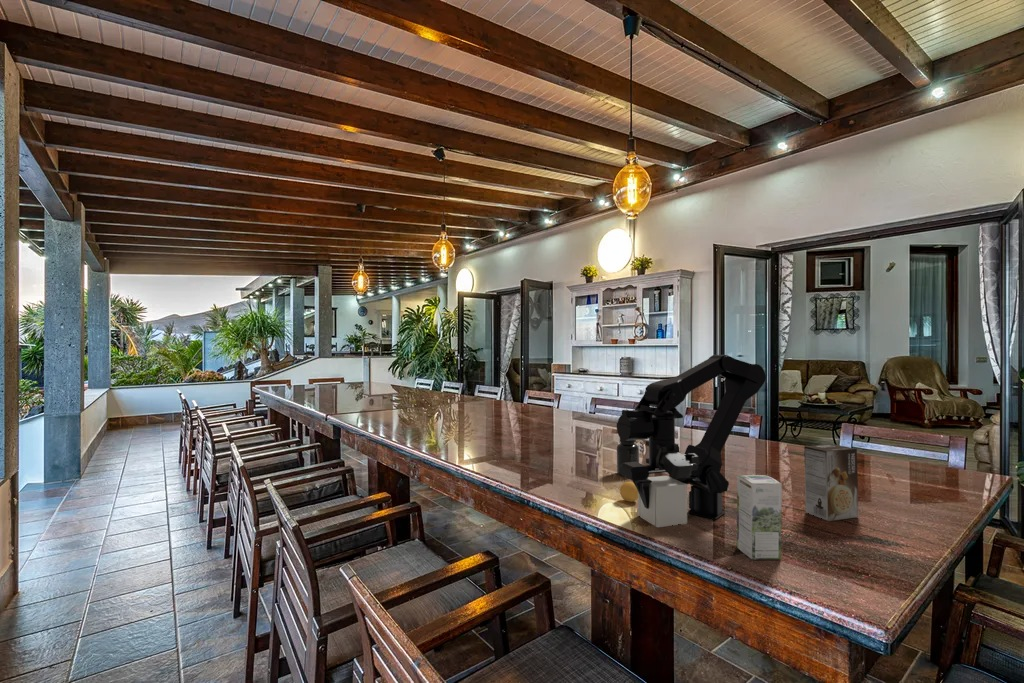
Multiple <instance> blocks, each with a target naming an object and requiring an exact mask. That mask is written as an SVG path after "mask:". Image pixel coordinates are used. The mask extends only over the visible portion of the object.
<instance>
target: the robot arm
mask: <svg viewBox="0 0 1024 683" xmlns="http://www.w3.org/2000/svg"><path fill="white" fill-rule="evenodd" d="M718 376H720V377H723V378H724V388H725V393H724V394H723V397H722V399H721V400H720V402H719V405H718V406H717V409H716V410H715V413H714V414H713V417H712V418H711V421H710V422H709V424H708V427H707V429H706V430H705V432H704V435H703V437H702V438H701V440H700V442H699V443H698V444H696V445H691V444H687V447H686V448H685V452H684V454H683V453H681V451H680V446H679V443H676V431H675V430H676V425H675V424H676V423H675V422H676V419H683V418H684V415H683V414H682V413H681V412H680V411H679V410H678V409H677V407H678V406H680V405H681V403H683V402H684V401H685V399H686V397H687V395H688V394H689V393H690V392H692V391H694V390H695V389H698V388H699V387H701V386H703V385H704V384H706V383H708V382H710V381H711V380H713V379H715V378H717V377H718ZM766 379H767V375H766V372H765V370H764V368H763V367H762V365H760V364H759V363H749V362H747V361H743V360H740V359H736V358H734V357H732V356H730V355H728V354H713V355H711V356H710V357H708V358H707V359H705V360H704V361H702V362H699V363H698V364H697V365H695V366H693V367H691V368H689V369H687V370H686V371H683V372H682V373H680V374H678V375H676V376H674V377H671V378H665V379H661V380H658V381H655V382H651V383H649V384H647V386H646V387H645V390H644V391H645V392H644V394H643V395H642V397H641V399H640V400H639V402H638V404H637V405H636V407H635V408H634V409H633V410H630V409H622V410H621V415H620V416H619V418H618V420H617V423H616V430H617V431H616V432H617V435H618V437H619V439H620V438H621V439H622V440H623V441H629V440H636V441H640V440H643V441H644V440H645V446H647V447H648V458H647V457H645V463H646V464H648V465H645V464H642V463H641V462H639V463H638V462H627V463H623V464H622V465H621V467H620V475H619V476H621V475H622V477H625V478H626V479H629V480H630V481H631V482H633V483H634V484H635V486H636V488H637V490H638V492H639V495H640V497H641V500H642V502H643V504H644V507H645V508H647V509H648V508H649V486H650V484H651V482H652V481H651V480H649V479H648V477H650V475H652V474H663V473H667V474H668V477H671V478H673V479H675V480H678V481H680V482H683V483H685V484H687V485H691V486H690V491H688V508H689V510H687V514H691V515H693V516H698V517H702V518H706V519H711V520H717V519H718V518H719V517H721V516H723V515H724V514H725V513H726V511H725V510H723V493H724V492H727V491H728V488H729V484H730V483H729V480H728V479H726V477H725V476H724V475H723V474H722V473H721V471H722V466H723V462H722V450H724V446H725V445H726V442H727V440H728V439H729V436H730V434H731V432H732V430H733V428H734V426H735V424H736V422H737V420H738V418H739V416H740V414H741V412H742V410H743V408H744V406H745V403H746V402H747V401H748V400H749V399H751V398H752V397H754V396H755V395H756V394H757V393H759V391H760V390H761V388H762V386H763V385H764V384H765V382H766Z"/></svg>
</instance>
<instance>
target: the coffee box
mask: <svg viewBox="0 0 1024 683" xmlns="http://www.w3.org/2000/svg"><path fill="white" fill-rule="evenodd" d="M803 449H804V451H803V452H804V491H805V492H804V493H805V501H804V502H805V514H808V513H809V515H811V516H813V515H814V517H815V518H819V519H821V518H822V520H824V521H827V522H832V521H838V520H839V521H841V520H847V519H856V518H859V488H858V487H859V482H858V480H859V477H858V448H854V447H849V446H844V445H839V444H833V443H832V444H816V445H804V448H803Z"/></svg>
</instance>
